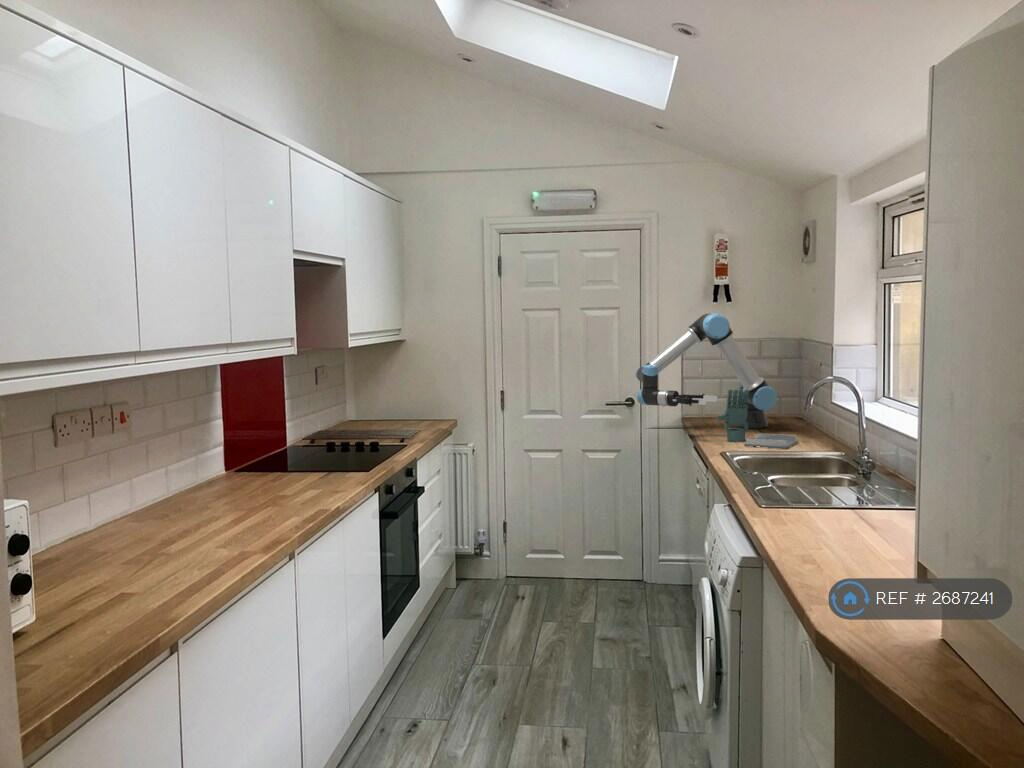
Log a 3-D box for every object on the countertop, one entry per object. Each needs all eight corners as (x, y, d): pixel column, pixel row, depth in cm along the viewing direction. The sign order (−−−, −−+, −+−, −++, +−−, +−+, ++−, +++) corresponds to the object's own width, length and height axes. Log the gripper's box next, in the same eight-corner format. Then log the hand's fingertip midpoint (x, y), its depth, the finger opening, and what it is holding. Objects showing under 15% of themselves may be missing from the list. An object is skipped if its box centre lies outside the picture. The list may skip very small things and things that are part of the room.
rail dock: (757, 440, 367) (757, 432, 367) (798, 442, 357) (798, 435, 357) (744, 446, 353) (744, 438, 352) (785, 449, 342) (785, 441, 342)
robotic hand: (714, 443, 369) (720, 394, 358) (715, 433, 378) (721, 385, 367) (745, 448, 365) (753, 399, 354) (746, 437, 374) (753, 389, 363)
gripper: (679, 403, 396) (721, 405, 383) (657, 408, 375) (701, 411, 363) (679, 388, 395) (721, 389, 383) (657, 392, 375) (701, 394, 363)
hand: (711, 400), depth 373 cm, fingers open, 13 cm apart
